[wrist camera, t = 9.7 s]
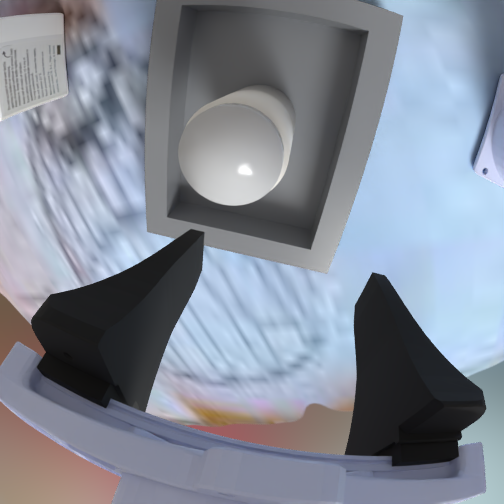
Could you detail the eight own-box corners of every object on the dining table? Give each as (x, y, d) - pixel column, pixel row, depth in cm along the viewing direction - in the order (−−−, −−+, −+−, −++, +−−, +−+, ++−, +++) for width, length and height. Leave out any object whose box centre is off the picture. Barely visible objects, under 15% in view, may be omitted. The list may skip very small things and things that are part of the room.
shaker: (302, 92, 16) (299, 113, 9) (287, 158, 18) (274, 220, 12) (230, 79, 16) (177, 94, 9) (220, 144, 18) (171, 198, 12)
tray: (389, 22, 12) (403, 16, 10) (326, 248, 22) (326, 273, 20) (180, -9, 13) (159, -18, 10) (163, 211, 23) (147, 231, 21)
